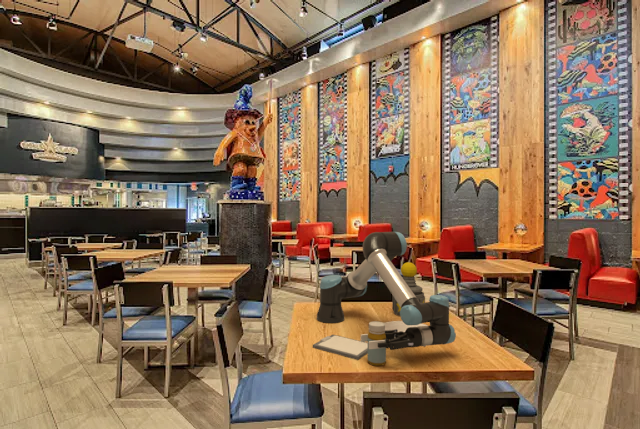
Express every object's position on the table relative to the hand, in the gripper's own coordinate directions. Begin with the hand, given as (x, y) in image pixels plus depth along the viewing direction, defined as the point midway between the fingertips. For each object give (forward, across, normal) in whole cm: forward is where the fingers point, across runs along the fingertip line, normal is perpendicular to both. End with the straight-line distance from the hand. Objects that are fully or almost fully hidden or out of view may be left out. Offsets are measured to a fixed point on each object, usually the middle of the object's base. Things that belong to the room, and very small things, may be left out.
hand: (364, 341), depth 131 cm
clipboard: (+2, +18, -8) cm, 20 cm away
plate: (-34, +29, -9) cm, 46 cm away
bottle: (-5, 0, -9) cm, 10 cm away
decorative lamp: (-52, +58, -9) cm, 78 cm away
